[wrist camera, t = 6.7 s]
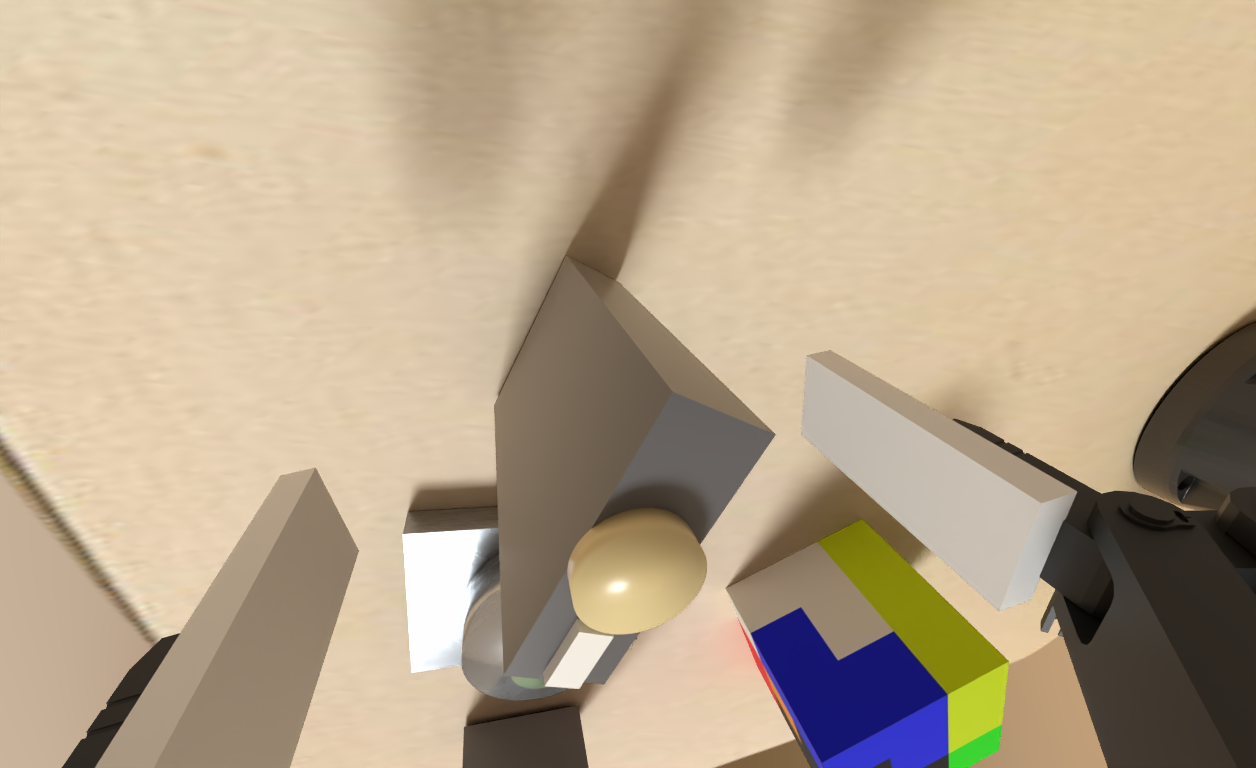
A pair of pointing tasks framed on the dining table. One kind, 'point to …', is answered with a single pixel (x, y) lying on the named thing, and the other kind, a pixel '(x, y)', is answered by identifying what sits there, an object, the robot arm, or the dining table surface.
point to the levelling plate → (460, 599)
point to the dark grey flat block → (607, 479)
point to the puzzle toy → (871, 658)
